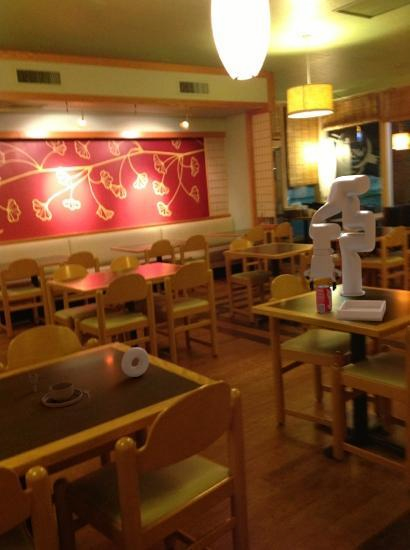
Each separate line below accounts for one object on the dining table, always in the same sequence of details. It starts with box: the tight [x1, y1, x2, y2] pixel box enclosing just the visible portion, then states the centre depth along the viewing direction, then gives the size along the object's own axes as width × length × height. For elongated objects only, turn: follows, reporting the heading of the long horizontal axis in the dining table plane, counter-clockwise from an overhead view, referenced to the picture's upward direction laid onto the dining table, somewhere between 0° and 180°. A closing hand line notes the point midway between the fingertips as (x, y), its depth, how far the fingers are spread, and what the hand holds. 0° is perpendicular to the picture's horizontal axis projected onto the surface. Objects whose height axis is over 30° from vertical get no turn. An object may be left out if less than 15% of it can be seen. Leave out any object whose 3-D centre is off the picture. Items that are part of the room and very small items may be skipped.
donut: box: [121, 346, 150, 378], centre depth 176 cm, size 10×4×10 cm, turn 127°
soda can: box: [315, 284, 333, 314], centre depth 242 cm, size 7×7×12 cm
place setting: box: [28, 373, 91, 408], centre depth 165 cm, size 18×20×6 cm
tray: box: [336, 299, 387, 322], centre depth 233 cm, size 20×18×4 cm
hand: (323, 290), depth 241 cm, fingers open, 9 cm apart
